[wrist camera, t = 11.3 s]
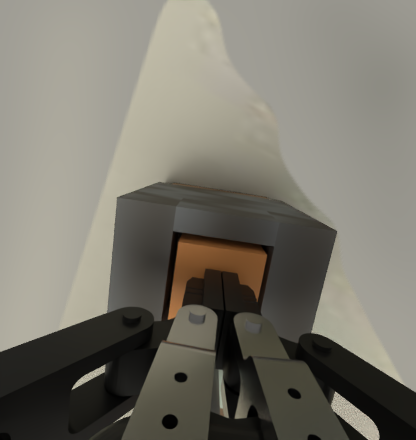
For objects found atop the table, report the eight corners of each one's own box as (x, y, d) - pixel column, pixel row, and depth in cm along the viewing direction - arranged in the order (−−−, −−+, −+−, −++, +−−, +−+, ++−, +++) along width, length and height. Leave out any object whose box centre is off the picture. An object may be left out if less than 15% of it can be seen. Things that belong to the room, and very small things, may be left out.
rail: (125, 442, 29) (71, 618, 18) (155, 179, 23) (104, 195, 12) (224, 456, 29) (231, 638, 18) (277, 198, 24) (337, 231, 12)
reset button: (175, 293, 16) (167, 322, 13) (184, 226, 15) (178, 242, 12) (243, 303, 16) (250, 334, 13) (256, 237, 15) (267, 255, 12)
